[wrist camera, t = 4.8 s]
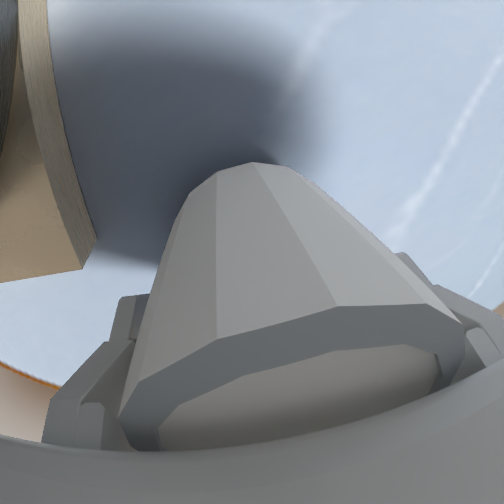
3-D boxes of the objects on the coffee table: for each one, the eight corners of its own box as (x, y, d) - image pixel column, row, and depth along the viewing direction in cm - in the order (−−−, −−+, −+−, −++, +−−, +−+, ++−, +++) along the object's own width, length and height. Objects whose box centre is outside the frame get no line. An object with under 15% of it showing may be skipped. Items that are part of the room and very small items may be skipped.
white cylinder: (174, 320, 12) (173, 488, 7) (136, 155, 9) (36, 340, 3) (336, 300, 13) (401, 446, 7) (357, 140, 9) (525, 270, 3)
